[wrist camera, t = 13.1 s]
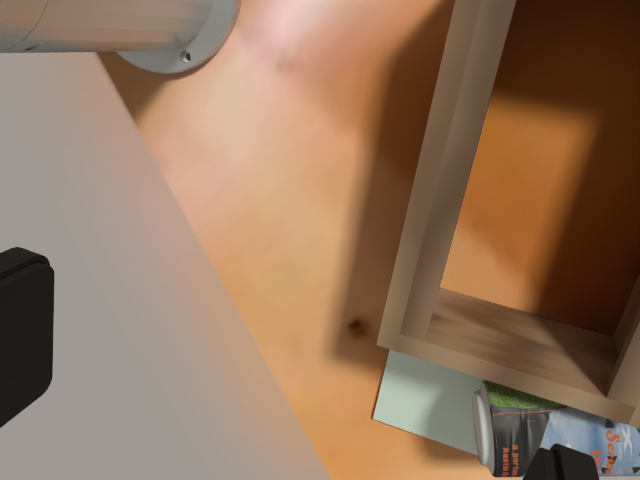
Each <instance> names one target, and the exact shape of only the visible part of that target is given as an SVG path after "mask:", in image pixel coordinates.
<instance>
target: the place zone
mask: <svg viewBox="0 0 640 480" xmlns="http://www.w3.org/2000/svg"><path fill="white" fill-rule="evenodd" d="M483 380H485V379H481V378H478V377H475V376H472V375H469V374H466V373H462V372H459V371H456V370H453V369H450V368H447V367H444V366H440V365H437V364H434V363H431V362H428V361H425V360H422V359H418V358H415V357H412V356H409V355H406V354H403V353H399V352H396V351H393V350H389V354H388V358H387V362H386V367H385V371H384V375H383V379H382V383H381V387H380V391H379V396H378V400H377V404H376V408H375V412H374V416H373V419H374V420H377V421H380V422H383V423H386V424H389V425H392V426H394V427H397V428H400V429H403V430H406V431H409V432H411V433H414V434H417V435H420V436H423V437H426V438H428V439H431V440H434V441H437V442H440V443H443V444H446V445H448V446H451V447H454V448H457V449H460V450H463V451H465V452H468V453H471V454H474V455H477V456H478V453H477V448H476V442H475V435H474V426H473V414H472V395H473V392H474V391H478V390H479V388H480V385H481V382H482V381H483Z"/></svg>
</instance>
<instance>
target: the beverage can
mask: <svg viewBox="0 0 640 480" xmlns="http://www.w3.org/2000/svg"><path fill="white" fill-rule="evenodd" d="M472 414H473V426H474V435H475V442H476V448H477V453H478V458H479V461H480V463H481V465H486V466H487V467H488V469H489V471H490V472H491V474H492V475H493V476H494V477H524V476H525V474H526V472H527V470H528V468H529V466H530V464H531V462H532V459H533V457H534V455H535V453H536V452H537V450H538V449H539V448H540V447H542V448H545V449H548V450H550V448H551V447H552V446H553V445H554V444H556V443H558V444H561V445H563V446H566V447H569V448H571V449H574V450H577V451H580V452H582V453H585V454H588V455H591V456H592V457H593V458H594V460H595V463H596V467H597V472H598V476H640V429H639V428H636V427H633V426H629V425H626V424H623V423H620V422H617V421H614V420H610V419H607V418H604V417H601V416H598V415H595V414H592V413H588V412H585V411H582V410H579V409H576V408H573V407H570V406H566V405H563V404H560V403H557V402H554V401H551V400H547V399H544V398H541V397H538V396H535V395H532V394H529V393H525V392H522V391H519V390H516V389H513V388H510V387H507V386H503V385H500V384H497V383H494V382H491V381H488V380H483V381H482V382H481V385H480V388H479V390H478V391H474V392H473V395H472Z"/></svg>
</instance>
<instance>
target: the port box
mask: <svg viewBox="0 0 640 480" xmlns="http://www.w3.org/2000/svg"><path fill="white" fill-rule="evenodd" d="M515 4H516V0H455V4H454V8H453V13H452V17H451V21H450V26H449V30H448V35H447V39H446V43H445V48H444V52H443V56H442V61H441V65H440V69H439V74H438V78H437V82H436V87H435V91H434V95H433V100H432V104H431V109H430V113H429V117H428V122H427V126H426V130H425V135H424V139H423V143H422V148H421V152H420V156H419V161H418V165H417V169H416V174H415V178H414V183H413V187H412V191H411V196H410V200H409V204H408V209H407V213H406V217H405V222H404V226H403V230H402V235H401V239H400V244H399V248H398V252H397V257H396V261H395V265H394V270H393V274H392V278H391V283H390V287H389V291H388V296H387V300H386V304H385V309H384V313H383V318H382V322H381V326H380V331H379V335H378V339H377V344H376V345H377V346H381V347H384V348H387V349H390V350H393V351H396V352H399V353H403V354H406V355H409V356H412V357H415V358H418V359H422V360H425V361H428V362H431V363H434V364H437V365H440V366H444V367H447V368H450V369H453V370H456V371H459V372H462V373H466V374H469V375H472V376H475V377H478V378H481V379H485V380H488V381H491V382H494V383H497V384H500V385H503V386H507V387H510V388H513V389H516V390H519V391H522V392H525V393H529V394H532V395H535V396H538V397H541V398H544V399H547V400H551V401H554V402H557V403H560V404H563V405H566V406H570V407H573V408H576V409H579V410H582V411H585V412H588V413H592V414H595V415H598V416H601V417H604V418H607V419H610V420H614V421H617V422H620V423H623V424H626V425H629V426H633V427H636V428H639V429H640V273H639V276H638V278H637V280H636V283H635V285H634V288H633V290H632V292H631V295H630V297H629V300H628V302H627V304H626V307H625V309H624V312H623V314H622V316H621V319H620V321H619V324H618V326H617V328H616V331H615V333H614V336H613V337H611V336H608V335H604V334H601V333H597V332H594V331H590V330H587V329H583V328H580V327H576V326H573V325H569V324H566V323H562V322H558V321H555V320H551V319H548V318H544V317H541V316H537V315H534V314H530V313H527V312H523V311H520V310H516V309H513V308H509V307H506V306H502V305H498V304H495V303H491V302H488V301H484V300H481V299H477V298H474V297H470V296H467V295H463V294H460V293H456V292H453V291H449V290H445V289H442V288H439V287H440V283H441V280H442V276H443V272H444V269H445V265H446V261H447V257H448V254H449V250H450V246H451V242H452V239H453V235H454V231H455V228H456V224H457V220H458V216H459V213H460V209H461V205H462V201H463V198H464V194H465V190H466V187H467V183H468V179H469V175H470V172H471V168H472V164H473V160H474V157H475V153H476V149H477V145H478V142H479V138H480V134H481V131H482V127H483V123H484V119H485V116H486V112H487V108H488V104H489V101H490V97H491V93H492V90H493V86H494V82H495V78H496V75H497V71H498V67H499V63H500V60H501V56H502V52H503V48H504V45H505V41H506V37H507V34H508V30H509V26H510V22H511V19H512V15H513V11H514V7H515Z"/></svg>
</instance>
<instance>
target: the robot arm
mask: <svg viewBox="0 0 640 480" xmlns="http://www.w3.org/2000/svg"><path fill="white" fill-rule="evenodd" d="M240 6H241V0H0V53H25V52H26V53H28V52H29V53H31V52H32V53H34V52H35V53H36V52H116V53H117V54H118V55H119V56H121V57H122V58H123V59H124V60H125V61H127V62H129V63H131V64H132V65H134V66H136V67H138V68H140V69H143V70H147V71H150V72H154V73H164V74H168V73H180V72H184V71H188V70H192V69H194V68H196V67H198V66H200V65H202V64H204V63H206V62H207V61H208V60H209V59H210V58H211V57H213V56H214V55H215V54H216V53H217V52H218V51H219V50H220V48H221V47H222V46H223V45H224V43H225V42H226V41H227V39H228V37H229V35H230V33H231V32H232V30H233V28H234V26H235V23H236V20H237V17H238V13H239V10H240ZM189 54H190V56H191V59H190V60H189V58H188V56H189ZM53 313H54V270H53V269H52V267H50V263H49V261H48V259H47V258H46V257H45V256H43V255H40V254H37V253H34V252H31V251H29V250H26V249H23V248H20V247H15V248H11V249H9V250H6V251H5V252H2V253H0V428H1V427H2V426H3V425H5V424H6V423H7V422H8V421H9V420H11V419H12V418H13V417H15V416H16V415H17V414H19V413H20V412H21V411H22V410H23V409H25V408H26V407H28V406H29V405H30V404H31V403H33V402H34V401H35V400H36V399H38V398H39V397H40V396H41V395H43V393H44V392H45V391H46V390H47V389H48V387H49V385H50V383H51V380H52V365H53V363H52V362H53V315H54V314H53ZM523 480H599V476H598V472H597V467H596V463H595V460H594V458H593V457H592V456H591V455H588V454H585V453H582V452H580V451H577V450H574V449H571V448H569V447H566V446H563V445H561V444H558V443H556V444H554V445H553V446H552V447H551V448H550V450H548V449H545V448H542V447H540V448H539V449H538V450H537V452H536V453H535V455H534V457H533V459H532V462H531V464H530V466H529V468H528V470H527V472H526V474H525V476H524V478H523Z"/></svg>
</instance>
